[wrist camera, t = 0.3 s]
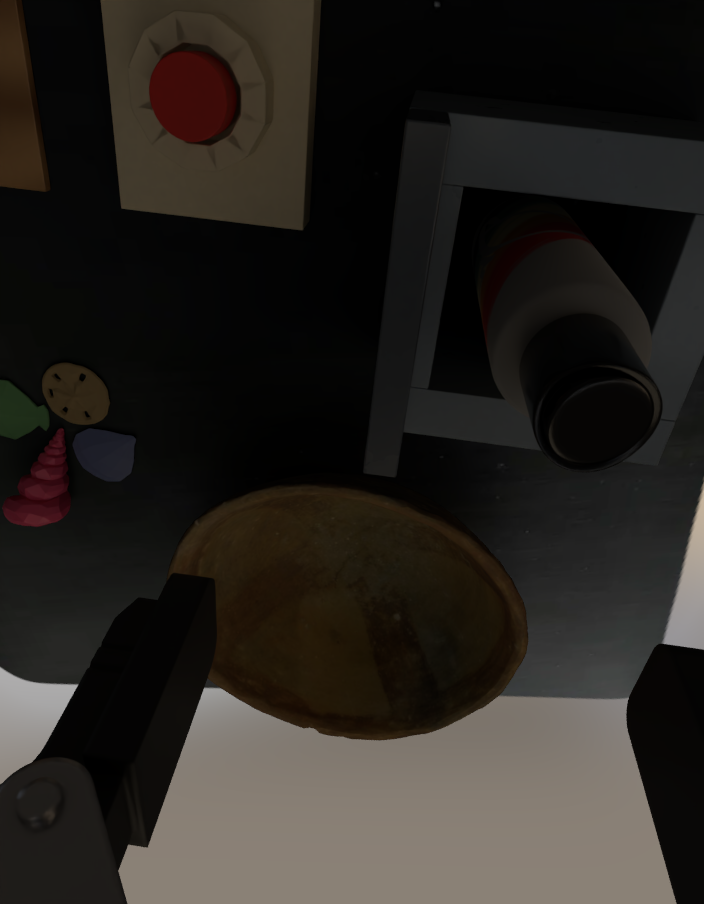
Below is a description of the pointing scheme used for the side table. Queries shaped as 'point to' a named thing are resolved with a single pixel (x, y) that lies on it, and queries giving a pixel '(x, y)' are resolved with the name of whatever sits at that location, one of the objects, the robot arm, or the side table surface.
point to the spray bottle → (564, 336)
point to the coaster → (19, 107)
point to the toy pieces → (61, 442)
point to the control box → (255, 120)
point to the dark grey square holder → (542, 173)
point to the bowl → (354, 606)
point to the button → (192, 95)
